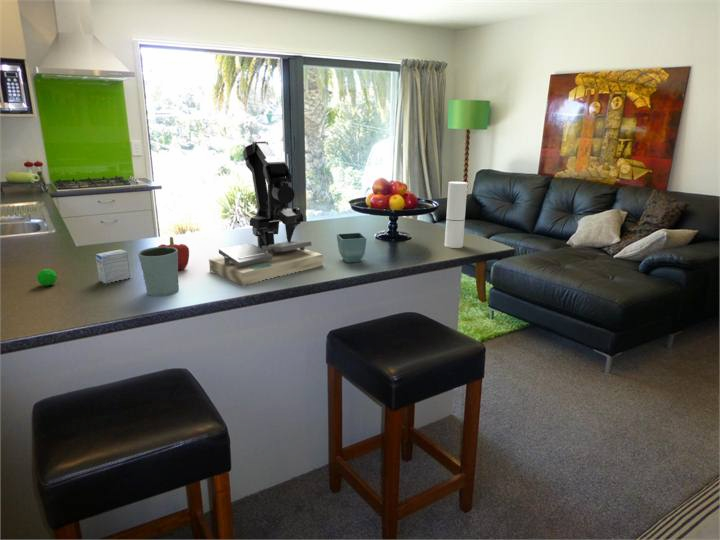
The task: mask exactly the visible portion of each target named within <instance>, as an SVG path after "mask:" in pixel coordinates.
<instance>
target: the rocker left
mask: <svg viewBox="0 0 720 540" xmlns="http://www.w3.org/2000/svg"><path fill="white" fill-rule="evenodd" d="M218 253H219V255H221V257H223V256H224V257H226V256H227V257H229V260H230V261H231V262H233V263H234V264H236V265H237V266H239V267H240V266H245V265H249V264H254V263H259V262H263V261H268V260H272V255H271V254H269V253H267V252H266V251H264V250H262V249H261V248H259V247H258V245H256V244H254V243H252V242H249V243H244V244H237V245H233V246H228V247H221V248H219V249H218Z"/></svg>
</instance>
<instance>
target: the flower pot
mask: <svg viewBox="0 0 720 540" xmlns="http://www.w3.org/2000/svg"><path fill="white" fill-rule="evenodd" d="M336 241H337V248H338V251H339V254H340V256H341V258H342V259H343V261H345V262H346V263H358V262H361V261H362V259H363V257H364V255H365V252H366V246H367V237H366V236H364V234H362V233H361V232H352V233H351V232H350V233H336Z"/></svg>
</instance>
